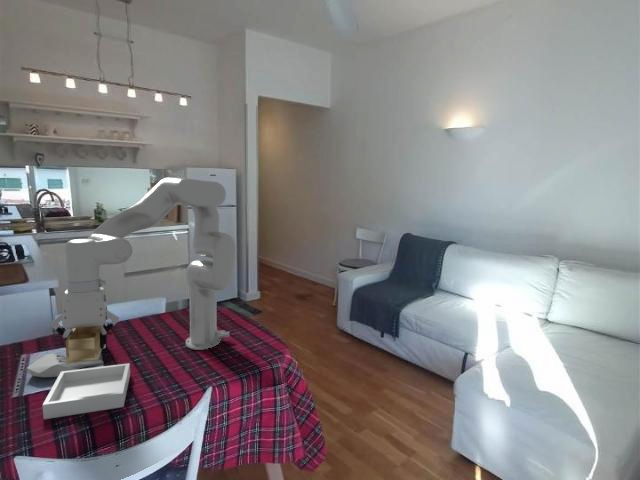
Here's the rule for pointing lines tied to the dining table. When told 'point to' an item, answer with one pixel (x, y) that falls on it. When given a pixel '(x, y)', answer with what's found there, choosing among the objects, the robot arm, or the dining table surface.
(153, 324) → the dining table surface
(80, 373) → the white tray
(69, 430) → the dining table surface
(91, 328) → the pine crate
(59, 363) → the turret
